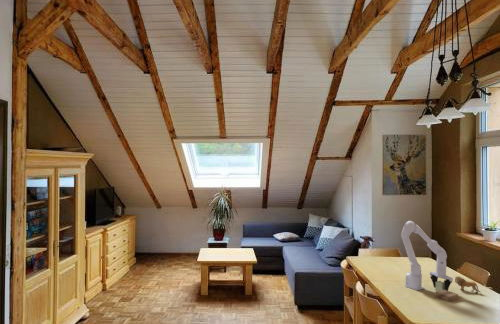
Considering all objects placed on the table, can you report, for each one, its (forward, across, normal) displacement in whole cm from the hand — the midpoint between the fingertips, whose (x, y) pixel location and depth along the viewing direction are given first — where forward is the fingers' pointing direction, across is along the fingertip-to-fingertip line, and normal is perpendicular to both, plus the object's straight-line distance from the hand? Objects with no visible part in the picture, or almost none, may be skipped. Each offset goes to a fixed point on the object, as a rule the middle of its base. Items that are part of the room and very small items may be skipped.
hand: (440, 289), depth 241 cm
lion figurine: (+2, -8, -16) cm, 17 cm away
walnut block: (+2, -9, +8) cm, 12 cm away
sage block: (+2, 0, 0) cm, 2 cm away
